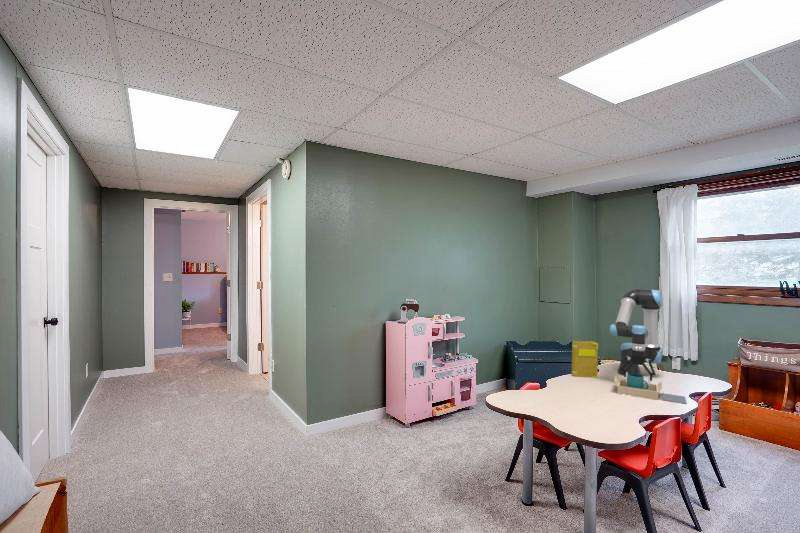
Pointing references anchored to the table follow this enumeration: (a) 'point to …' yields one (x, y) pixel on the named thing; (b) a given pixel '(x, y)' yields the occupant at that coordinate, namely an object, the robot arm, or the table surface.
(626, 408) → the table surface
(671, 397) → the mat
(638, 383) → the cup
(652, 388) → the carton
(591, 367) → the book
